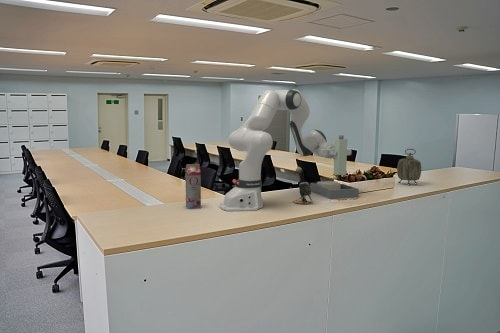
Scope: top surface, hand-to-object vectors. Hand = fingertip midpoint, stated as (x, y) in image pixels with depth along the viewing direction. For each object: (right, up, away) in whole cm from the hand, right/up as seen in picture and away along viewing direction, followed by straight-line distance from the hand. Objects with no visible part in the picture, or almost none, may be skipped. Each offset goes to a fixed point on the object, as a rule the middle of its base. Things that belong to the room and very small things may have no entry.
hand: (341, 153), depth 220 cm
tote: (-2, -25, +10) cm, 27 cm away
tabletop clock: (+58, -20, +50) cm, 79 cm away
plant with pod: (-23, -27, -11) cm, 37 cm away
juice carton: (-80, -28, -22) cm, 88 cm away
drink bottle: (0, -12, +2) cm, 12 cm away
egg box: (-4, -23, +15) cm, 28 cm away
